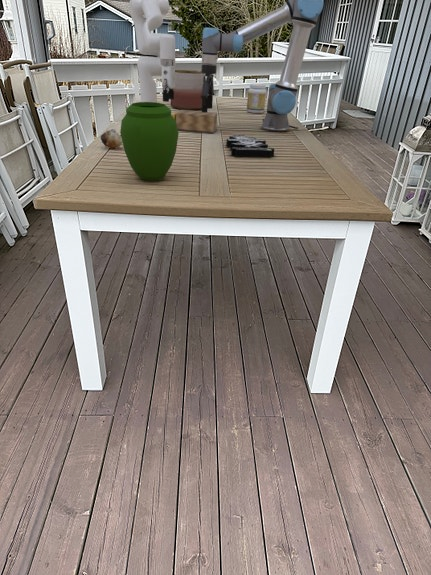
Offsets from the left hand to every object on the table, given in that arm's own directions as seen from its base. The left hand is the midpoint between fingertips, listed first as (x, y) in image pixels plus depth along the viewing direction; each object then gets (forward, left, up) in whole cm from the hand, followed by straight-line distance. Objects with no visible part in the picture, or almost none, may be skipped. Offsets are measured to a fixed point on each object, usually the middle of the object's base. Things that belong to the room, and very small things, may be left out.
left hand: (168, 100), depth 214 cm
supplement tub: (-66, +53, -14) cm, 86 cm away
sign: (+39, +40, -14) cm, 58 cm away
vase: (+89, +2, -14) cm, 90 cm away
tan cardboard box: (+2, +15, -14) cm, 21 cm away
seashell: (+49, -20, -14) cm, 55 cm away
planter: (-71, +7, -14) cm, 73 cm away
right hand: (+3, +20, -4) cm, 21 cm away
